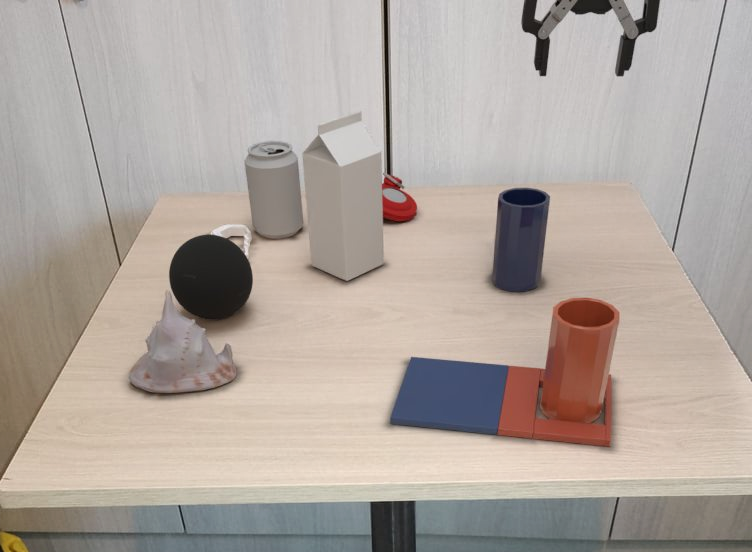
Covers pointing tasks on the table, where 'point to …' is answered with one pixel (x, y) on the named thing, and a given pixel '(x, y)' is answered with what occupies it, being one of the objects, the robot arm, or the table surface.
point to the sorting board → (486, 402)
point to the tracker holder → (396, 200)
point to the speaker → (210, 277)
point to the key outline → (235, 234)
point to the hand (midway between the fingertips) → (580, 74)
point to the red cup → (578, 359)
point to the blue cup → (520, 238)
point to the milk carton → (344, 198)
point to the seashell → (180, 357)
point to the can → (274, 189)
